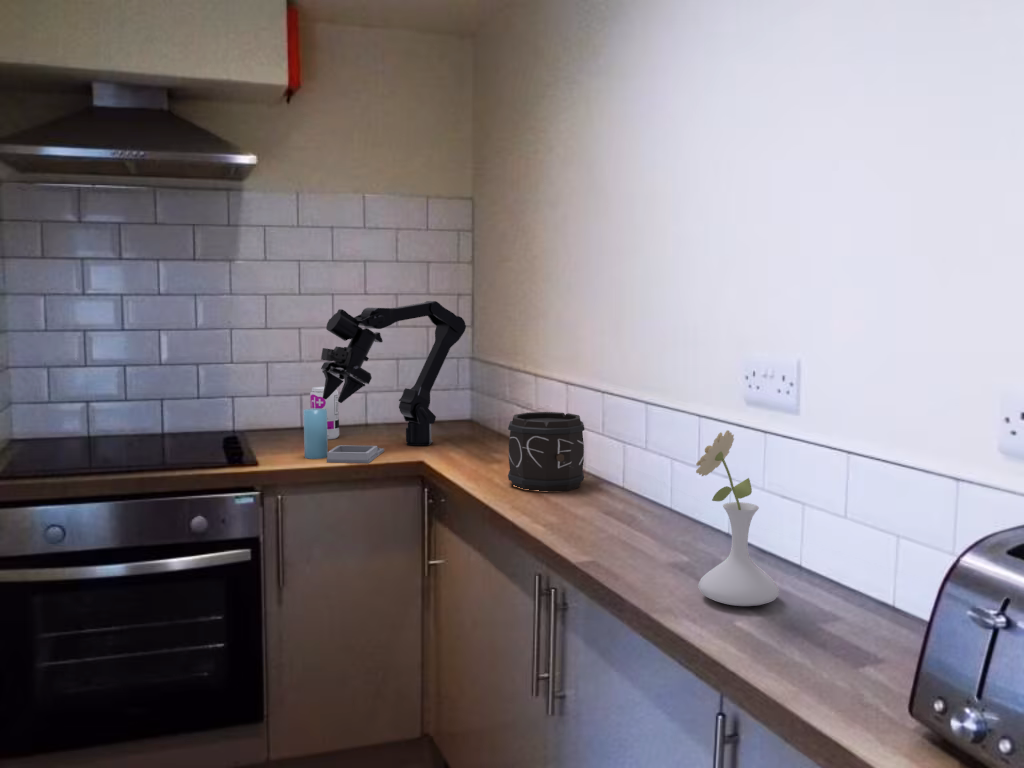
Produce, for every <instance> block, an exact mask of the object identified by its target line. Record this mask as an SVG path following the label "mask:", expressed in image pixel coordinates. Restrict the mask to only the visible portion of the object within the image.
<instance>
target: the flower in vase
mask: <svg viewBox="0 0 1024 768" xmlns="http://www.w3.org/2000/svg"><path fill="white" fill-rule="evenodd" d="M734 436H735V434H733V433H732V432H731V431H730V430H728V429H727V430H726V431H725V432H724V434H723V432H722V431H721V432H719V433H718V435H717V436H716V438H715V439H714V440H713V443H712V445H706V447H705V448H704V453H705V454H703V455H701V457H700V458H699V460H698V461H697V462H696V465H695V466H697V467H698V468H696V471H695V473H696V474H698V475H699V476H700V475H701V477H704V476H708V475H710V473H712V472H713V471H715V469H718V468H719V467H720V465H721V464H723V466H724V468H725V471H726V473H727V477H728V480H729V483H730V486H724V487H722V488H720V489H719V490H717V491H716V492H715V493H714V495H713V497H712V499H711V501H713V502H723V501H724V500H725V499H726V498H728V496H729V495H730V493H731V492H732V494H733V496H734V499H735V502H733V501H732V502H727V503H724V504H722V508H723V509H724V510H725V512H726V514H727V516H728V519H729V522H730V529H731V546H730V547H731V549H730V553H729V555H728V556H727V558H726V559H725V560H723V561H721V562H720V563H719V564H717V565H716V566H714V567H713V568H712V569H710V570H709V571H707V572H706V573H705V574H704V575H703V576H702V577H701V578H700V580H699V582H698V585H697V587H698V589H699V591H700V593H701V594H702V595H703V596H704V597H706V598H708V599H710V600H712V601H715V602H718V603H721V604H724V605H728V606H729V605H730V606H736V607H737V606H738V607H754V606H757V607H758V606H761V605H764V604H768V603H771V602H773V601H775V600H776V599H777V598H778V596H779V595H780V589H779V586H778V584H777V583H776V581H774V579H773V578H772V577H771V576H770V575H769V574H768V573H767V572H765V571H764V570H763V569H762V568H761V567H759V566H758V565H757V564H756V563H755V562H754V561H753V559H752V558H751V557H750V554H749V547H748V546H749V545H748V542H749V541H748V540H749V531H750V527H751V523H752V519H753V517H754V516H755V514H756V512H758V511H759V509H760V507H759V506H758V505H757V504H753V503H751V502H750V503H749V502H740V499H743V498H745V497H749V496H751V494H752V492H753V491H752V489H753V488H752V485H751V480H750V478H749V477H748V478H746V479H744V480H743V481H741V482H739V483H738V484H736V485H735V486H734V483H733V479H732V476H731V473H730V469H729V467H728V465H727V462H726V461H725V459H726V457H727V456H728V455H729V453H730V449H731V448H732V446H733V443H734V440H735V438H734Z"/></svg>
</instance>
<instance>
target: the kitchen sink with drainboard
mask: <svg viewBox="0 0 1024 768" xmlns="http://www.w3.org/2000/svg"><path fill="white" fill-rule="evenodd" d="M384 452H385V448H384V447H383V448H381V447H378V445H345V444H343V445H341V444H339V445H337V446H335V447H333V448H331V449H330V450H329V451H328V452H327V457H326V463H335V464H336V463H338V464H339V463H340V464H343V463H345V464H349V463H350V464H369V463H371V462H372V461H374V460H375V459H376V458H377V457H378V456H380V455H381V454H383V453H384Z"/></svg>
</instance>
